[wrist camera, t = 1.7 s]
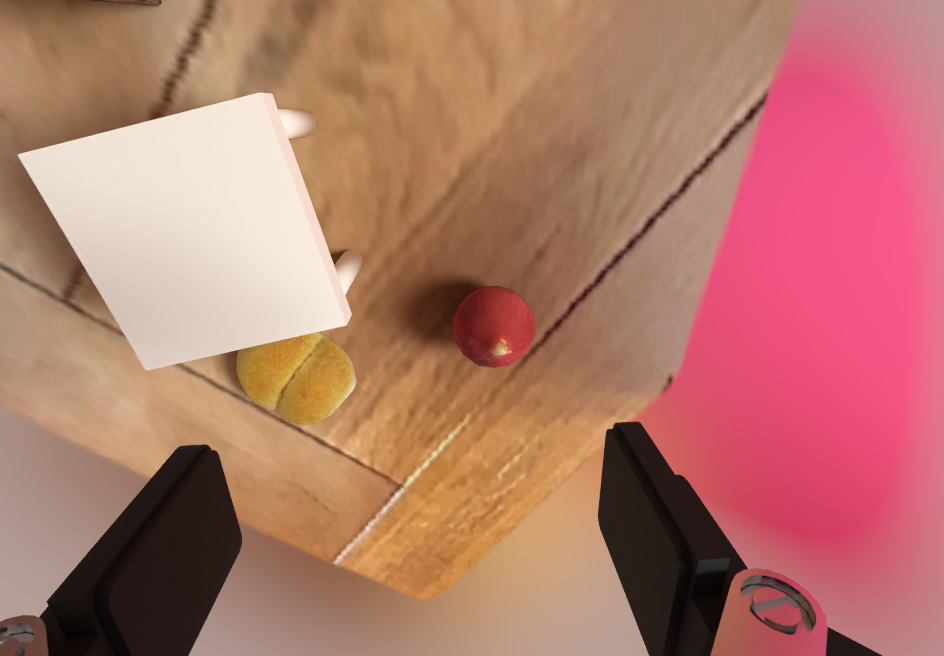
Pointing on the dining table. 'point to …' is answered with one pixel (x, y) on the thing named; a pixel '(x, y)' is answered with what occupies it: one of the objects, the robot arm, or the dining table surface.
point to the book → (139, 1)
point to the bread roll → (297, 377)
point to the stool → (199, 229)
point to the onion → (494, 326)
